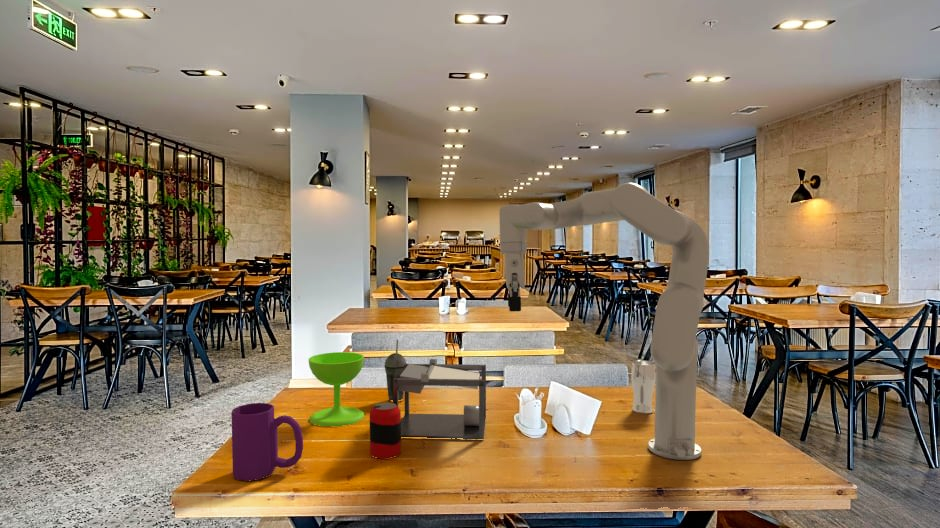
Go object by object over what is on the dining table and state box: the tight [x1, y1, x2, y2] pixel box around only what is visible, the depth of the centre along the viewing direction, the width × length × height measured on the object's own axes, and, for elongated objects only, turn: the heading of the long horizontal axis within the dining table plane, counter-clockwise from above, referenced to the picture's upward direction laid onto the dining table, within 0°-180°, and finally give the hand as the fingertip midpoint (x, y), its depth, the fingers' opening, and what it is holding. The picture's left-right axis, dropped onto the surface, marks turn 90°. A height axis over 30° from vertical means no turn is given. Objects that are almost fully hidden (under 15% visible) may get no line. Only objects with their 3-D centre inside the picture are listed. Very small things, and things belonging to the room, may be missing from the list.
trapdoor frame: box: [392, 358, 487, 440], centre depth 156 cm, size 18×24×18 cm
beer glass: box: [630, 359, 656, 415], centre depth 171 cm, size 7×7×15 cm
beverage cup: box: [383, 339, 407, 401], centre depth 182 cm, size 7×7×20 cm
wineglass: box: [308, 351, 365, 427], centre depth 165 cm, size 16×16×18 cm
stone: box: [463, 404, 479, 426], centre depth 155 cm, size 6×6×5 cm
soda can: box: [369, 402, 402, 458], centre depth 138 cm, size 8×8×12 cm
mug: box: [231, 402, 304, 482], centre depth 126 cm, size 9×16×15 cm, turn 94°
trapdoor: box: [398, 363, 481, 394], centre depth 155 cm, size 15×21×5 cm
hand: (514, 309), depth 158 cm, fingers open, 9 cm apart
